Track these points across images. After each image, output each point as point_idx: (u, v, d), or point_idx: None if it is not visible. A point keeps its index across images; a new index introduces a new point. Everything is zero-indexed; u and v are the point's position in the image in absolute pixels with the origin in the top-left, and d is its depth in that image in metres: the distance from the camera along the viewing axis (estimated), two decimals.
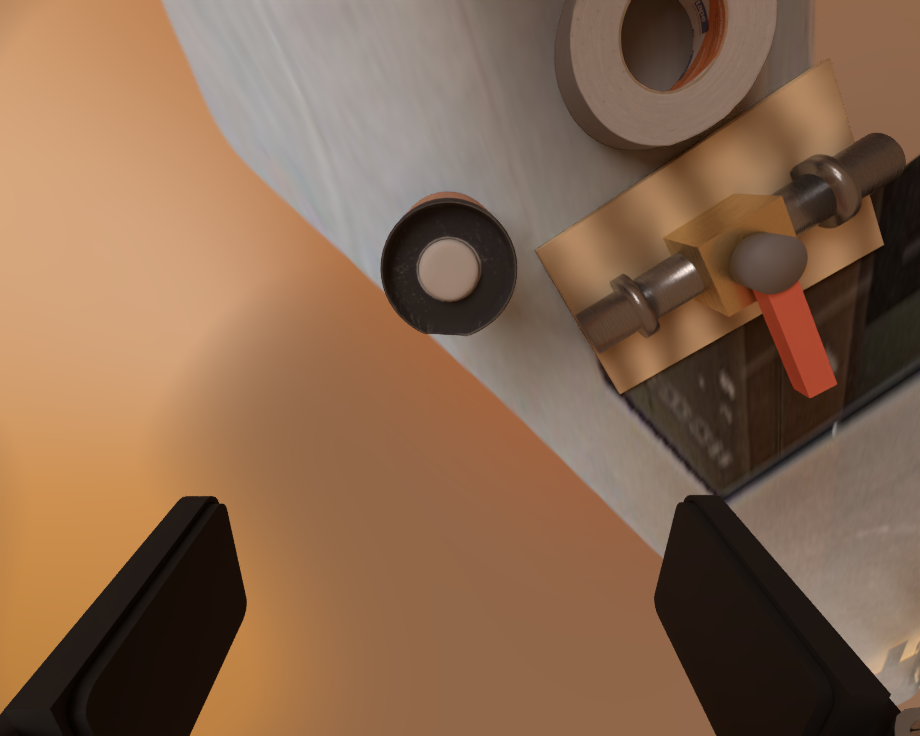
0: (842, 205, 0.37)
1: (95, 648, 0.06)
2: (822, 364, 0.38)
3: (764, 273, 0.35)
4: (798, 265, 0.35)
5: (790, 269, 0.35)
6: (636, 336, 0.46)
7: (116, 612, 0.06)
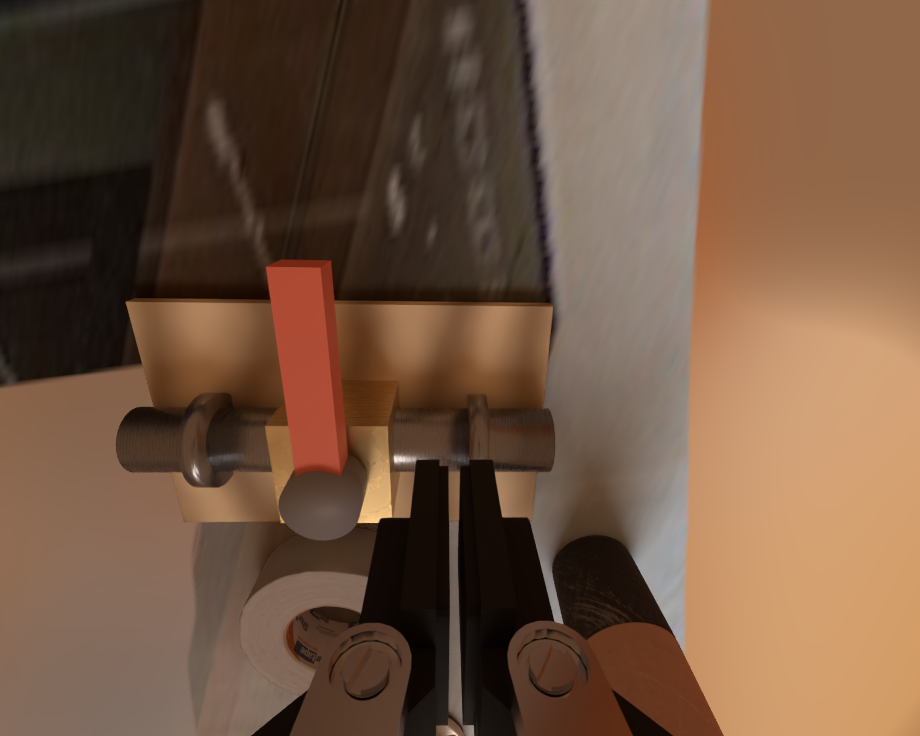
0: (201, 452, 0.29)
1: (436, 568, 0.07)
2: (285, 322, 0.21)
3: (338, 509, 0.25)
4: (293, 496, 0.25)
5: (304, 496, 0.25)
6: (486, 374, 0.32)
7: (431, 544, 0.08)
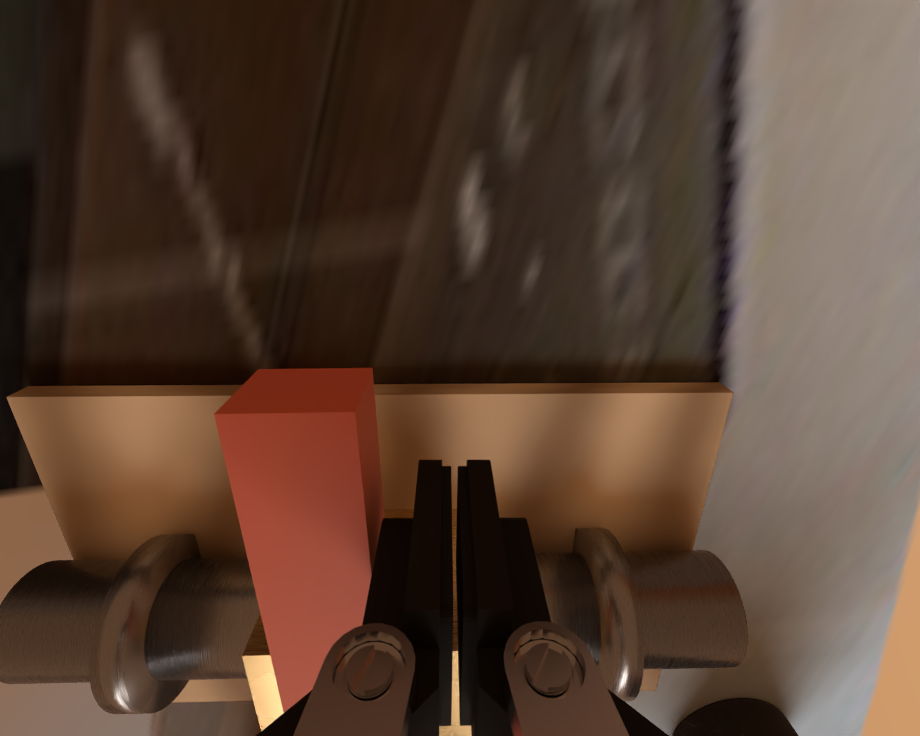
0: (134, 668, 0.16)
1: (440, 569, 0.07)
2: (269, 531, 0.09)
3: None
4: None
5: None
6: (610, 496, 0.20)
7: (434, 545, 0.08)
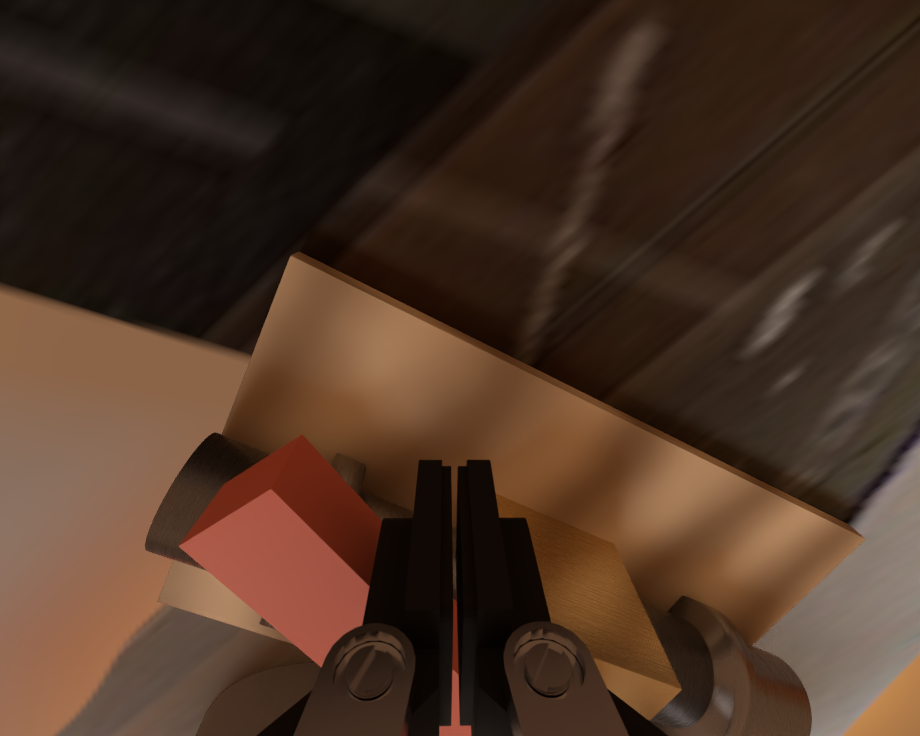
0: None
1: (440, 569, 0.07)
2: (287, 612, 0.10)
3: None
4: None
5: None
6: (725, 580, 0.22)
7: (434, 545, 0.08)
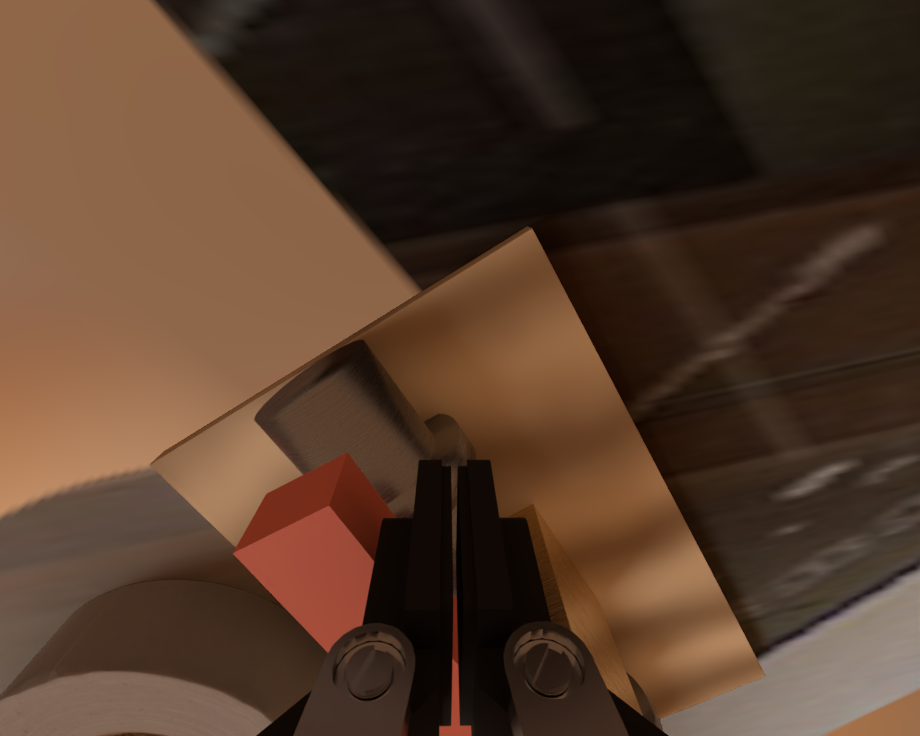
0: None
1: (440, 569, 0.07)
2: (324, 620, 0.10)
3: None
4: None
5: None
6: (654, 667, 0.25)
7: (434, 544, 0.08)
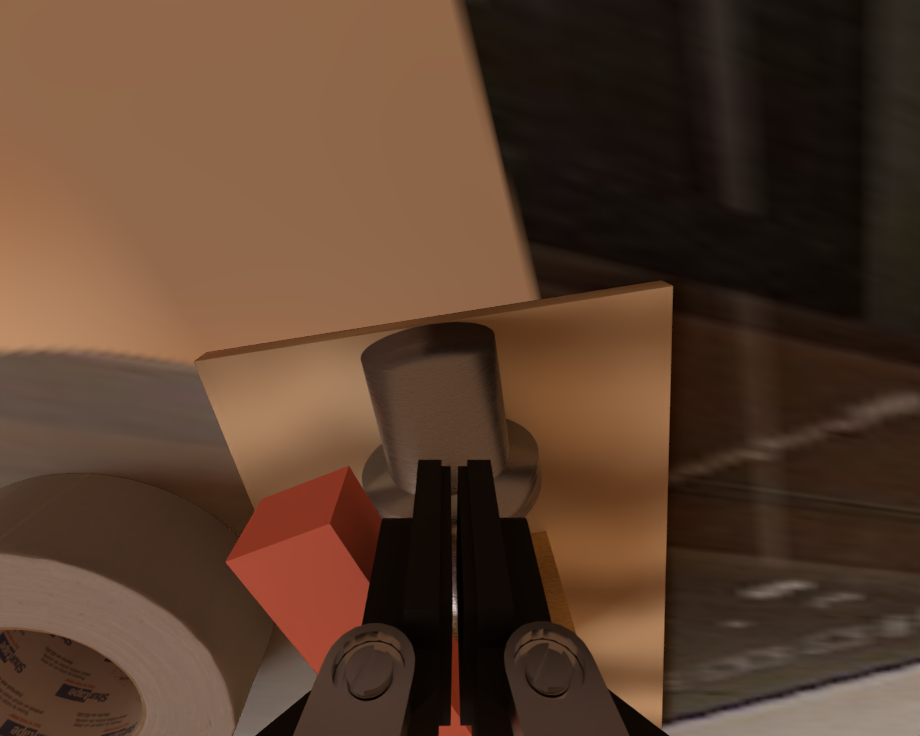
0: None
1: (439, 569, 0.07)
2: (311, 634, 0.10)
3: None
4: None
5: None
6: None
7: (434, 544, 0.08)
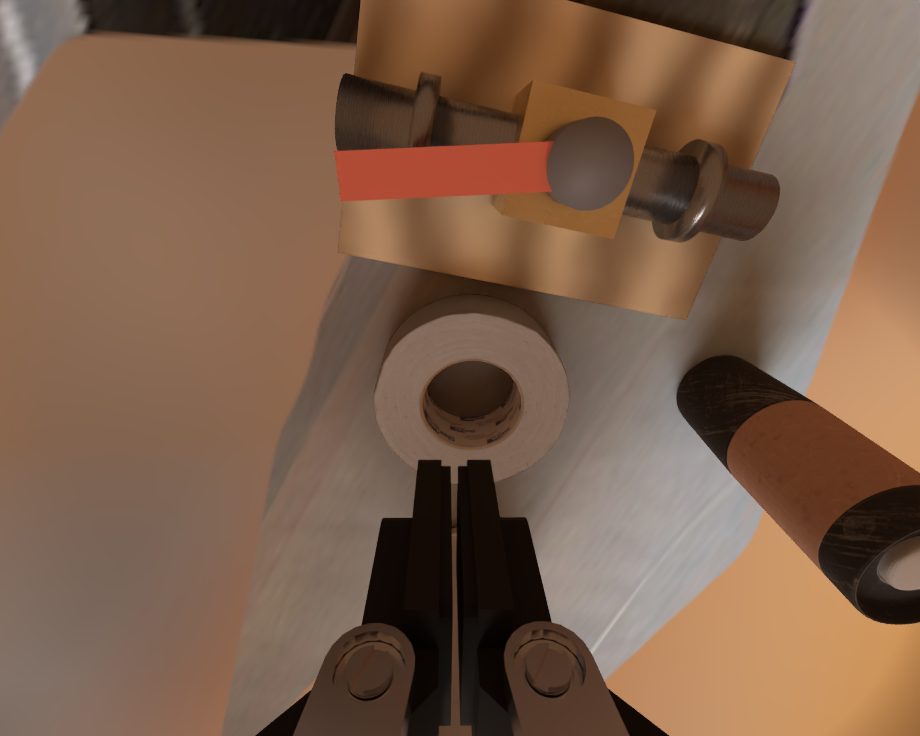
0: (433, 119, 0.26)
1: (439, 569, 0.07)
2: (389, 188, 0.24)
3: (593, 143, 0.23)
4: (572, 193, 0.24)
5: (574, 181, 0.24)
6: (704, 131, 0.31)
7: (434, 544, 0.08)
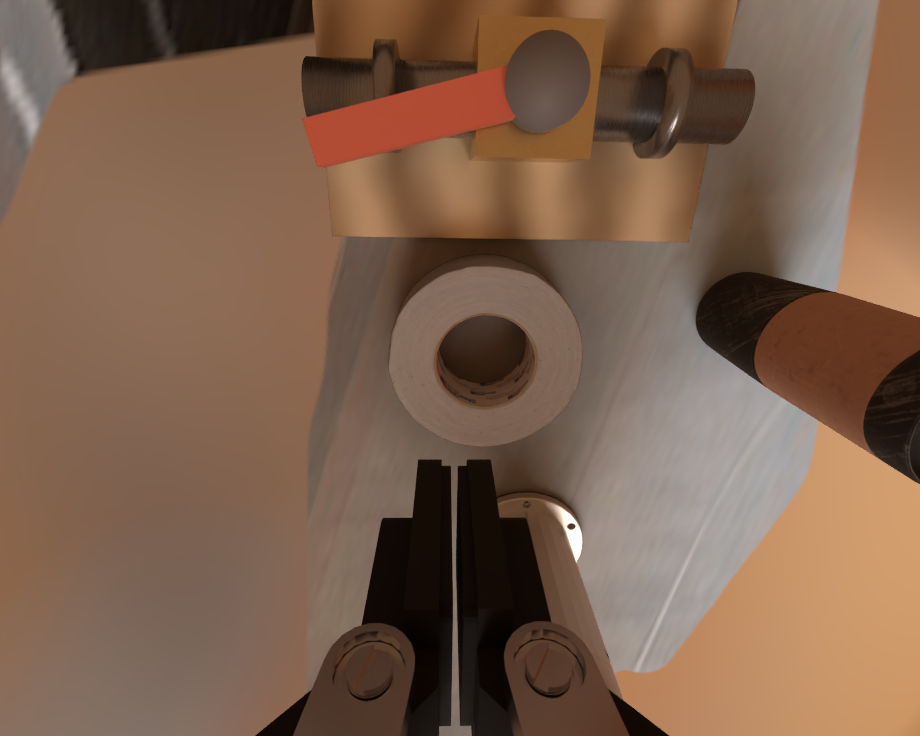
0: (393, 78, 0.27)
1: (439, 569, 0.07)
2: (359, 144, 0.25)
3: (545, 58, 0.23)
4: (535, 113, 0.24)
5: (534, 100, 0.24)
6: (667, 43, 0.31)
7: (434, 544, 0.08)
